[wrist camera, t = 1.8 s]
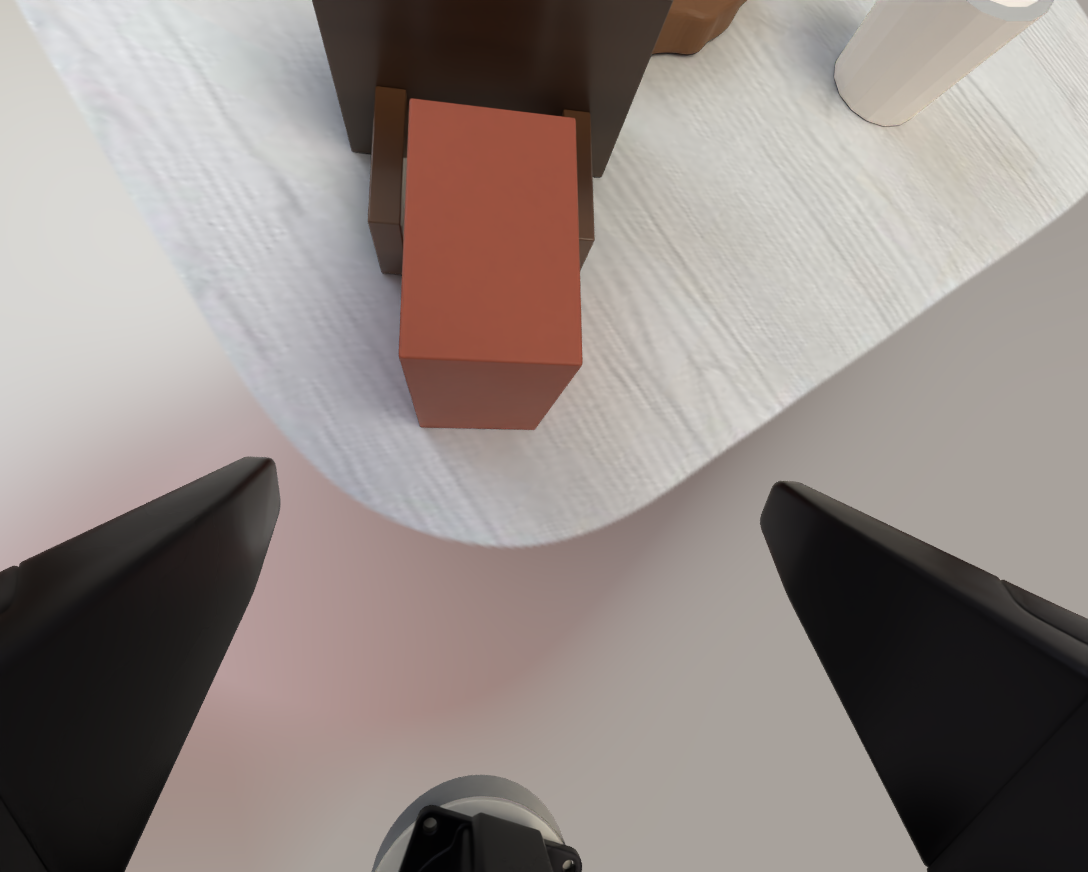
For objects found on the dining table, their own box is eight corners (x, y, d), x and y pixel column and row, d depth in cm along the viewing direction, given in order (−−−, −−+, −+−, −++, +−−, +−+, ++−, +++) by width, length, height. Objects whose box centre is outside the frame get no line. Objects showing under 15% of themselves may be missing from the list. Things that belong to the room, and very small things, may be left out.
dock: (606, 288, 25) (685, 157, 17) (344, 271, 23) (278, 111, 15) (599, 109, 27) (667, -94, 18) (356, 78, 25) (305, -164, 16)
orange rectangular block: (535, 430, 23) (583, 365, 15) (419, 427, 23) (398, 358, 14) (533, 264, 25) (576, 116, 16) (425, 256, 24) (409, 96, 15)
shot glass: (948, 121, 31) (1086, 5, 24) (858, 147, 30) (978, 31, 23) (895, 25, 32) (1014, -114, 25) (804, 46, 30) (905, -96, 24)
